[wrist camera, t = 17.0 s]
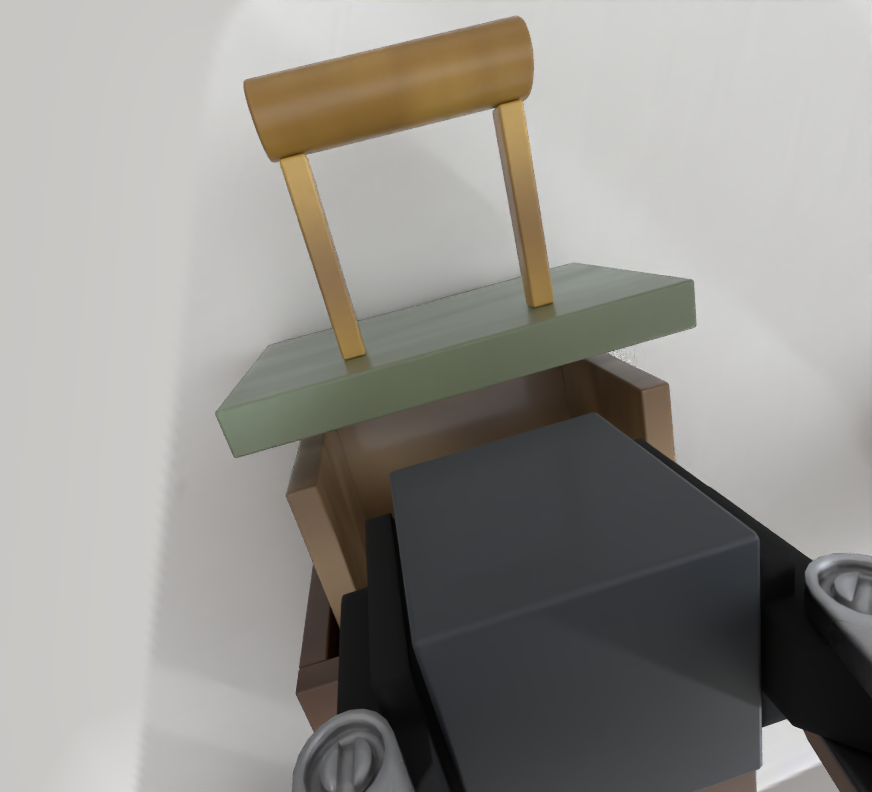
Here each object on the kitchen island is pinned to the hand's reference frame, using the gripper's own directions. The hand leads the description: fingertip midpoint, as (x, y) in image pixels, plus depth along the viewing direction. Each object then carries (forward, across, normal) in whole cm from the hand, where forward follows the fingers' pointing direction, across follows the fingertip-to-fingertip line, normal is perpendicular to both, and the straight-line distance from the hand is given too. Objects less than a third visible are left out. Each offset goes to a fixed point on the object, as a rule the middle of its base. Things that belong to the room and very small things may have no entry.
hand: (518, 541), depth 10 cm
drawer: (+9, 0, 0) cm, 9 cm away
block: (0, 0, 0) cm, 0 cm away
